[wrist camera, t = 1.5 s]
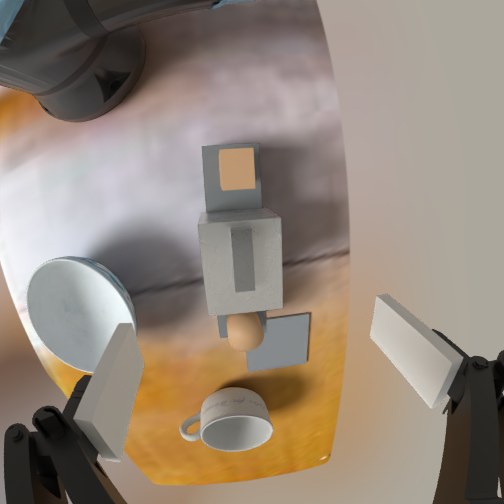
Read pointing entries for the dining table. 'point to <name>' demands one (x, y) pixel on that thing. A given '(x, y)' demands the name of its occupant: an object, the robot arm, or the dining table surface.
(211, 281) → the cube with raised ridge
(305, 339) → the mat
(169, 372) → the dining table surface
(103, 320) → the chinaware
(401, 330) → the robot arm
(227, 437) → the teacup
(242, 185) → the plane
